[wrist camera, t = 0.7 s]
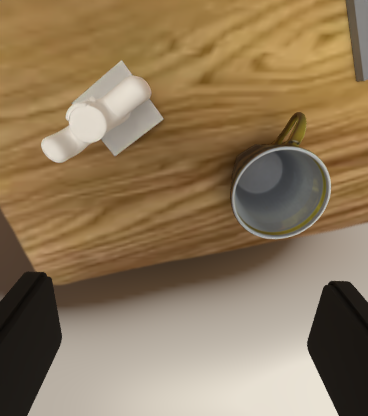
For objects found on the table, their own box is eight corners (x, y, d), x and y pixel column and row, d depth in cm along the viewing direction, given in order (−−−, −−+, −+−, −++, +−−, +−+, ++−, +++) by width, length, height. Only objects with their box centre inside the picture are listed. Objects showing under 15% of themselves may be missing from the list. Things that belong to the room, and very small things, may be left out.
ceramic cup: (281, 210, 40) (310, 246, 31) (212, 197, 39) (220, 231, 30) (314, 115, 35) (361, 125, 26) (236, 99, 34) (255, 103, 25)
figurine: (172, 110, 35) (165, 124, 21) (114, 155, 37) (73, 194, 23) (135, 56, 32) (98, 32, 19) (75, 107, 34) (3, 119, 21)
